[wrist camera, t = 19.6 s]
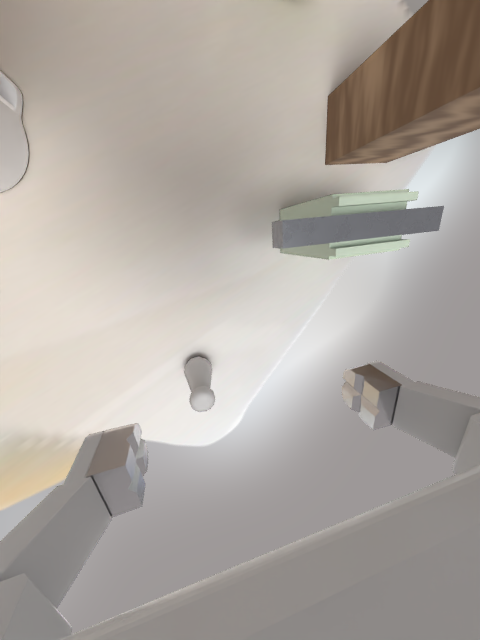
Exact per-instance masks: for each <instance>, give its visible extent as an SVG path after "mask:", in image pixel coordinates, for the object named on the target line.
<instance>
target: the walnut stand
mask: <svg viewBox="0 0 480 640" xmlns="http://www.w3.org/2000/svg"><path fill="white" fill-rule="evenodd" d="M479 128H480V0H429V1H428V2H427V3H426V4H425V5H423V7H421V9H419V10H418V11H417V12H416V13H415V14H414V15H413V16H412V17H411V18H410V19H409V20H408V21H407V22H406V23H405V24H403V25H402V26H401V27H400V28H399V29H398V30H397V31H396V32H395V33H394V34H393V35H392V36H391V37H390V38H389V39H388V40H387V41H386V42H385V43H384V44H382V45H381V46H380V47H379V48H378V49H377V50H376V51H375V52H374V53H373V54H372V55H371V56H370V57H369V58H368V59H367V60H366V61H365V62H364V63H363V64H361V65H360V66H359V67H358V68H357V69H356V70H355V71H354V72H353V73H352V74H351V75H350V76H349V77H348V78H347V79H346V80H345V81H344V82H343V83H342V84H340V85H339V86H338V87H337V88H336V89H335V90H334V91H333V92H332V93H331V94H330V95H329V96H328V110H327V135H326V159H325V165H335V164H363V163H387V162H390V161H392V160H395V159H398V158H401V157H403V156H406V155H409V154H412V153H414V152H417V151H420V150H422V149H425V148H428V147H431V146H433V145H436V144H439V143H442V142H444V141H447V140H450V139H452V138H455V137H458V136H461V135H463V134H466V133H469V132H472V131H474V130H477V129H479Z"/></svg>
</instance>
